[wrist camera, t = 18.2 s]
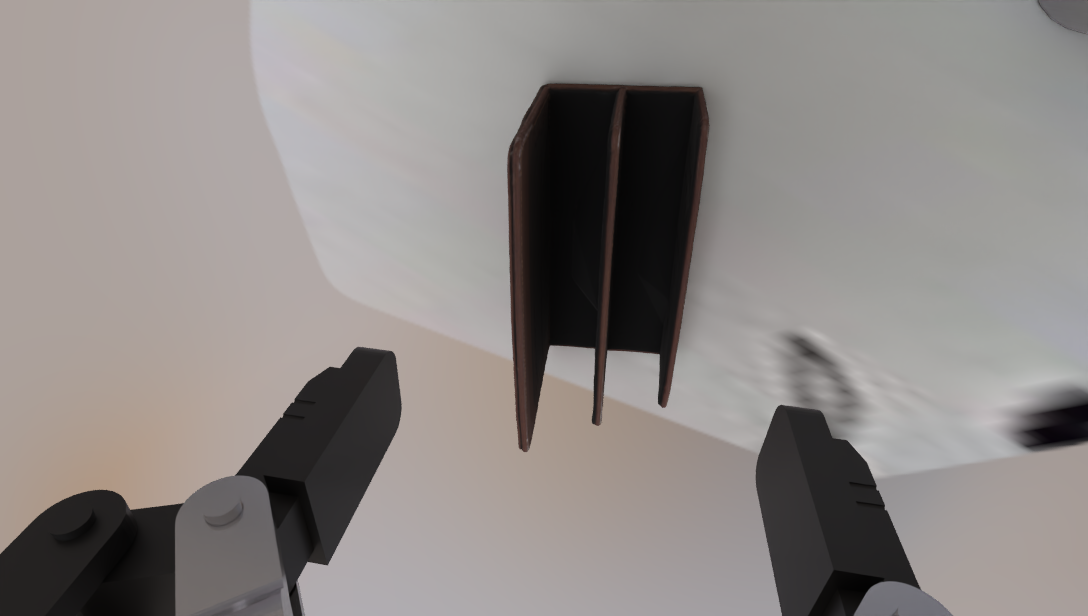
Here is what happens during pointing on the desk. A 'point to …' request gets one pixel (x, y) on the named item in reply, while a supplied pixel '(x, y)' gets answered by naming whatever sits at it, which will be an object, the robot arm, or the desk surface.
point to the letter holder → (601, 228)
